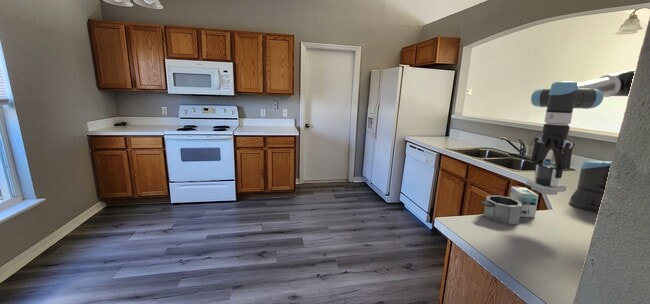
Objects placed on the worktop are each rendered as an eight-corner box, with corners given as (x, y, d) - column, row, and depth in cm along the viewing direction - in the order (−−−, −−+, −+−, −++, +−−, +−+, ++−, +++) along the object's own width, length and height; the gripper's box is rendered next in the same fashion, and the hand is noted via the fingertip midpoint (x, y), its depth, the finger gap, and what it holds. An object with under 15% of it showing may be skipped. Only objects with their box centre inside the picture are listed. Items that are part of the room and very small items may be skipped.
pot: (506, 211, 126) (509, 194, 124) (531, 223, 113) (534, 205, 112) (472, 212, 123) (474, 196, 121) (494, 226, 110) (496, 207, 109)
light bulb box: (535, 218, 118) (539, 195, 116) (518, 216, 120) (522, 193, 118) (522, 208, 129) (526, 187, 127) (507, 207, 130) (510, 186, 128)
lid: (542, 185, 114) (546, 162, 112) (573, 196, 102) (578, 170, 100) (516, 186, 112) (520, 163, 110) (545, 197, 100) (550, 171, 98)
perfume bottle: (548, 177, 182) (551, 160, 179) (537, 175, 187) (540, 158, 185) (552, 176, 185) (555, 159, 182) (542, 174, 190) (545, 157, 188)
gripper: (525, 121, 110) (516, 176, 114) (575, 126, 92) (562, 191, 96) (541, 121, 111) (531, 175, 116) (593, 126, 93) (579, 190, 97)
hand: (545, 182), depth 106 cm, fingers closed on lid, 6 cm apart
